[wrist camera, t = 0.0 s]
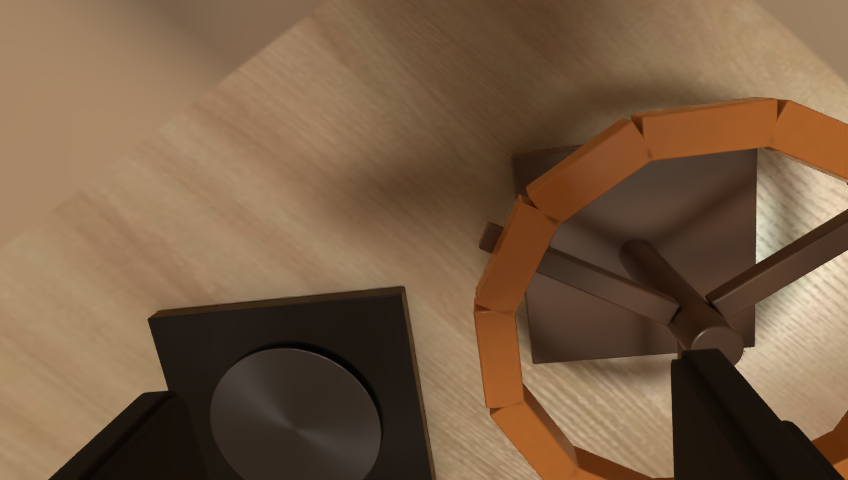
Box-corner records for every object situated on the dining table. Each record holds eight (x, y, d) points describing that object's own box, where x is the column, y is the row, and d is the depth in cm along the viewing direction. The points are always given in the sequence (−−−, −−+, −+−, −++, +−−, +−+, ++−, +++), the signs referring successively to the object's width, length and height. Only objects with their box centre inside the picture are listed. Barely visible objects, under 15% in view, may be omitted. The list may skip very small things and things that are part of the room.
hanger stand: (476, 158, 31) (471, 208, 19) (782, 118, 29) (992, 147, 17) (505, 395, 35) (515, 561, 23) (776, 376, 32) (944, 548, 21)
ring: (453, 137, 20) (450, 142, 19) (962, 68, 18) (1003, 67, 17) (502, 513, 25) (503, 540, 23) (917, 496, 22) (947, 525, 21)
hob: (157, 310, 36) (142, 322, 34) (404, 286, 33) (399, 297, 32) (217, 518, 40) (206, 537, 38) (440, 509, 38) (438, 528, 36)
